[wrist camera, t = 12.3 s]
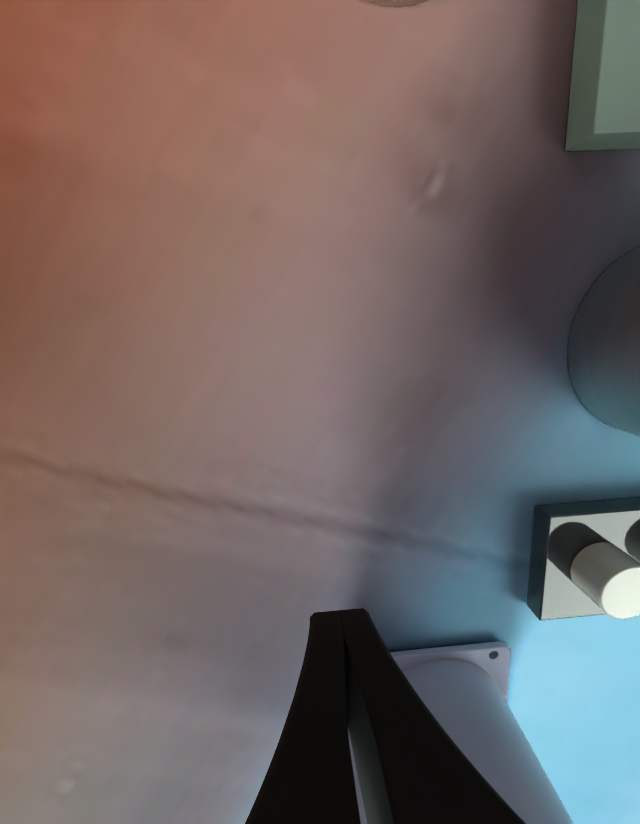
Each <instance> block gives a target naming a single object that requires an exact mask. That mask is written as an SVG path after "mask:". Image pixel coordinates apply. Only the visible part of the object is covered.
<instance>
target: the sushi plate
mask: <svg viewBox="0 0 640 824" xmlns="http://www.w3.org/2000/svg"><path fill="white" fill-rule="evenodd" d="M527 606H528V607H529V608H530V609H531V611H532V612H533V613H534V614H535V615H536V617H537V618H538V619H539V620H551V619H561V618H572V617H582V616H592V615H603V614H607V615H609V616H611V617H613V618H617V619H628V618H632V617H635V616H638V615H640V497H634V498H622V499H610V500H597V501H585V502H573V503H561V504H549V505H536V506H535V513H534V525H533V537H532V548H531V560H530V572H529V584H528V595H527Z"/></svg>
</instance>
